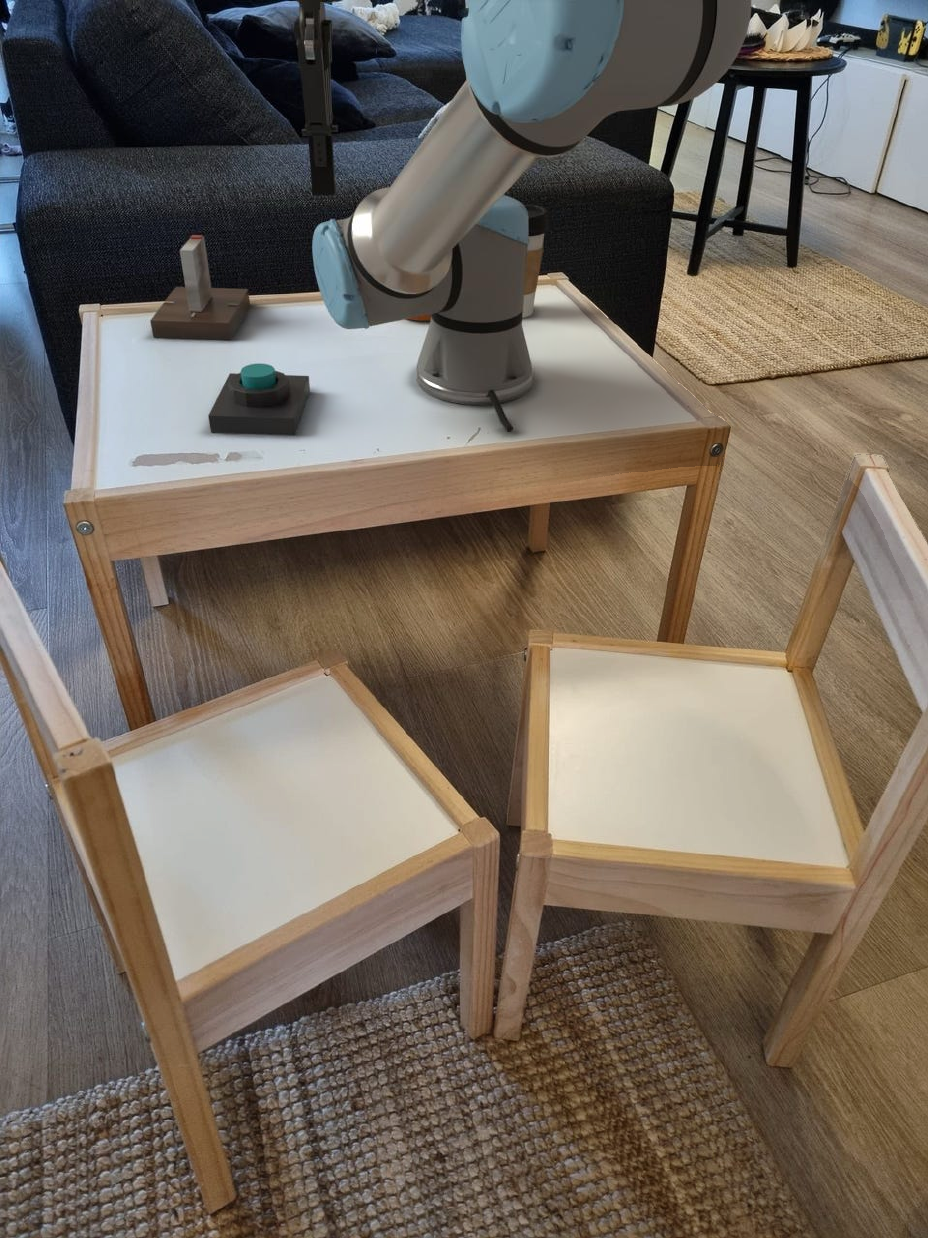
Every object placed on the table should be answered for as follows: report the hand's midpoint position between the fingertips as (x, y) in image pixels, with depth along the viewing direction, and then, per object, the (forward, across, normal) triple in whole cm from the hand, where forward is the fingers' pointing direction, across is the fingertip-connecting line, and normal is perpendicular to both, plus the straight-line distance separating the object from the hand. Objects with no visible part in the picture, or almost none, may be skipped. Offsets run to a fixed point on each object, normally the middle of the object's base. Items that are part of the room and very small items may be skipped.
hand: (323, 193), depth 112 cm
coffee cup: (+22, -20, +26) cm, 39 cm away
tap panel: (+21, -14, -20) cm, 33 cm away
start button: (+18, +15, -8) cm, 25 cm away
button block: (+22, +15, -8) cm, 28 cm away
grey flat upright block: (+19, -14, -20) cm, 31 cm away
